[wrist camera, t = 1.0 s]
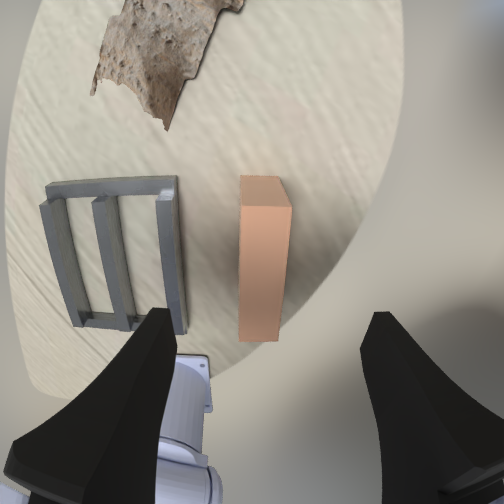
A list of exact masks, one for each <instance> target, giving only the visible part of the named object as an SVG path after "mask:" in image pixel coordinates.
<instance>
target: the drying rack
mask: <svg viewBox="0 0 504 504" xmlns="http://www.w3.org/2000/svg"><path fill="white" fill-rule="evenodd" d="M45 189H46V195H47V200H46V201H45V202H43V203H42V204H40V205H39V207H40V212H41V217H42V221H43V226H44V230H45V235H46V239H47V243H48V247H49V251H50V255H51V258H52V262H53V266H54V269H55V273H56V276H57V279H58V283H59V286H60V289H61V292H62V295H63V298H64V301H65V304H66V307H67V310H68V313H69V316H70V318H71V321H72V324H73V327H82V328H83V327H92V328H102V329H114V330H119V331H124V332H131V331H136V329H137V328H138V326H139V325H140V324H141V322H142V321H143V320H144V318H145V317H146V316H145V315H137V314H136V309H135V305H134V300H133V295H132V290H131V285H130V280H129V275H128V270H127V264H126V258H125V252H124V246H123V240H122V233H121V226H120V219H119V212H118V204H117V196H124V195H159V196H158V198H157V199H156V213H157V225H158V235H159V245H160V254H161V263H162V271H163V279H164V286H165V294H166V301H167V307H168V308H170V312H171V317H172V323H173V328H174V333H175V335H184V334H187V331H188V319H187V310H186V300H185V290H184V280H183V269H182V257H181V243H180V229H179V213H178V194H177V176H143V177H120V178H103V179H88V180H75V181H63V182H52V183H50V184H49V185H47V186H45ZM79 197H97V198H96V199H95V200H94V201H93V202H91V203H92V210H93V216H94V222H95V228H96V234H97V239H98V244H99V249H100V254H101V259H102V264H103V269H104V273H105V278H106V282H107V286H108V290H109V294H110V298H111V302H112V306H113V310H114V314H113V313H100V312H91V309H90V306H89V302H88V299H87V295H86V292H85V288H84V285H83V281H82V277H81V274H80V270H79V266H78V262H77V258H76V253H75V249H74V245H73V240H72V235H71V231H70V226H69V220H68V215H67V210H66V204H65V198H79Z"/></svg>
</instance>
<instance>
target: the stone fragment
mask: <svg viewBox="0 0 504 504" xmlns="http://www.w3.org/2000/svg"><path fill="white" fill-rule="evenodd" d="M243 1H244V0H125V3H124V6H123V9H122V12H121V14H120V16H112V17H110V19H109V21H108V25H107V29H106V32H105V35H104V40H103V43H102V45H101V49H100V60H99V63H98V66H97V68H96V71H95V75H94V79H93V83H92V89H91V91H90V96H94V94H95V91H96V86H97V80H100V82H101V83H102V78H105V79H110V80H112V81H114V82H115V83H116V84H117V85H120V84H121V83H123V84H125V85H127V86H128V87H129V88H130V89H131V90H132V91H133V92H134V93H135V94H136V95H137V98H138V100H139V102H140V104H141V105H142V107H143V110H144V112H148V113H149V114H151V115H152V116H153V118H159V119H162V120H163V124H164V126H165V128H164V129H165V130H166V131H167V132H168V129H169V124H170V120H171V118H172V115H173V112H174V108H175V105H176V101H177V98H178V95H179V93H180V91H181V88H182V86H183V83H184V80H185V79H192V78H194V77H195V75H196V72H197V70H198V66H199V63H200V61H201V58H202V56H203V51H204V48H205V46H206V44H207V41H208V38H209V36H210V34H211V33H212V30H213V27H214V23H215V21H216V16H217V15H218V13H219V11H220V10H221V9H222V8H229V9H231V10H233V11H238V10H239V9H240V8H241V6H242V5H243Z"/></svg>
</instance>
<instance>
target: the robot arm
mask: <svg viewBox="0 0 504 504" xmlns="http://www.w3.org/2000/svg"><path fill="white" fill-rule="evenodd" d="M360 353H361V360H362V366H363V372H364V377H365V380H366V384H367V388H368V392H369V395H370V399H371V403H372V406H373V410H374V414H375V418H376V422H377V427H378V432H379V441H380V449H381V462H382V504H504V483H503V480H502V479H503V478H504V419H502V418H500V417H499V416H497V415H496V414H494V413H493V412H491V411H490V410H488V409H487V408H485V407H484V406H482V405H481V404H480V403H478V402H477V401H476V400H475V399H473V398H472V397H471V396H469V395H468V394H467V393H466V392H464V391H463V390H462V389H461V388H460V387H459V386H458V385H457V384H456V383H454V382H453V381H452V380H451V379H450V378H449V377H448V376H447V375H446V374H445V373H444V372H443V371H442V370H441V369H440V368H439V367H438V366H437V365H436V364H435V363H434V362H433V361H432V360H431V358H430V357H429V356H428V355H427V354H426V353H425V352H424V351H423V350H422V348H421V347H420V346H419V345H418V344H417V343H416V342H415V340H414V339H413V338H412V337H411V336H410V335H409V333H408V332H407V331H406V330H405V329H404V328H403V326H402V325H401V324H400V323H399V322H398V321H397V320H396V318H395V317H394V316H393V315H392V314H391V313H390V312H374V315H373V317H372V320H371V322H370V325H369V327H368V330H367V332H366V335H365V337H364V340H363V342H362V344H361V347H360ZM176 354H177V342H176V337H175V333H174V328H173V323H172V317H171V312H170V308H154V307H153V308H152V309H151V310H150V311H149V313H148V314H147V315H146V317H145V318H144V320H143V321H142V322H141V324H140V325H139V326H138V328H137V329H136V331H135V332H134V333H133V335H132V336H131V337H130V338H129V340H128V341H127V342H126V344H125V345H124V346H123V347H122V349H121V350H120V351H119V352H118V354H117V355H116V356H115V357H114V358H113V360H112V361H111V362H110V363H109V364H108V365H107V366H106V368H105V369H104V370H103V371H102V372H101V373H100V374H99V375H98V376H97V378H96V379H95V380H94V381H93V382H92V383H91V384H90V385H89V386H88V387H87V388H86V389H85V390H84V391H82V392H81V393H80V394H79V395H78V396H77V397H76V398H75V399H74V400H72V401H71V402H70V403H69V404H68V405H67V406H65V407H64V408H63V409H62V410H60V411H59V412H58V413H56V414H55V415H54V416H52V417H51V418H50V419H48V420H47V421H45V422H44V423H43V424H41V425H40V426H38V427H37V428H35V429H33V430H32V431H30V432H29V433H27V434H25V435H24V436H22V437H20V438H19V439H17V440H15V441H13V444H12V446H11V449H10V451H9V455H8V458H7V461H6V464H5V468H4V471H3V472H4V474H5V476H7V477H8V478H9V479H11V480H13V481H14V482H16V483H18V484H19V485H21V486H23V487H25V488H27V489H28V490H30V491H31V495H30V497H29V496H27V495H25V494H23V493H21V492H19V491H17V490H15V489H13V488H11V487H9V486H7V485H5V484H4V483H2V482H0V504H222V498H223V488H222V481H221V478H220V476H219V475H218V473H217V471H216V470H215V469H214V468H213V467H211V466H207V462H208V461H207V459H208V456H207V455H203V454H201V453H202V436H203V420H204V413H210V412H212V410H213V407H212V398H211V388H210V377H209V367H208V359H207V358H206V357H205V356H188V355H176ZM203 364H204V365H203Z"/></svg>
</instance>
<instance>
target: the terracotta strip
mask: <svg viewBox="0 0 504 504" xmlns="http://www.w3.org/2000/svg"><path fill="white" fill-rule="evenodd" d="M291 215H292V205H291V203H290V201H289V199H288V197H287V194H286V192H285V190H284V188H283V186H282V184H281V181H280V179H279V177H278V176H247V175H241V176H240V218H239V270H238V318H239V342H268V341H278V336H279V329H280V321H281V312H282V303H283V294H284V285H285V276H286V267H287V257H288V247H289V237H290V226H291Z"/></svg>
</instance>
